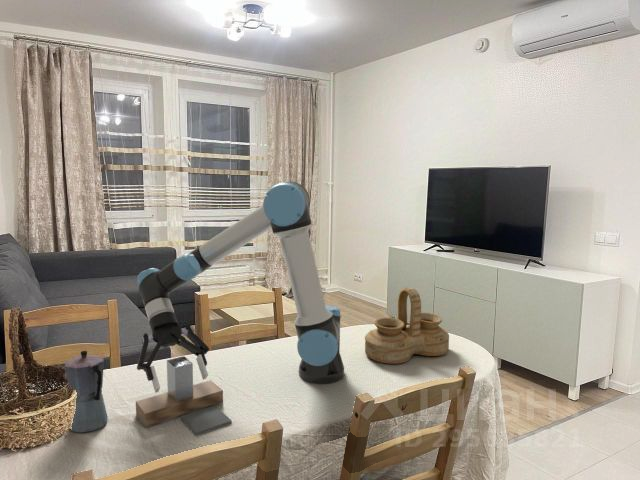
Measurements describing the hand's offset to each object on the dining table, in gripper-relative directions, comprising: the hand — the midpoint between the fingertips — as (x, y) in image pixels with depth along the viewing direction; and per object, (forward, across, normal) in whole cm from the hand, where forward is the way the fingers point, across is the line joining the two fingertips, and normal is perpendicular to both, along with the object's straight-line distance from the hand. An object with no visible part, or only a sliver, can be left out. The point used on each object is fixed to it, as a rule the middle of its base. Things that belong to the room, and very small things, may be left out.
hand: (182, 383), depth 128 cm
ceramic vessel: (+12, -84, -1) cm, 85 cm away
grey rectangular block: (+2, 0, -4) cm, 5 cm away
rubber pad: (+12, -3, 0) cm, 12 cm away
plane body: (+4, 0, -7) cm, 9 cm away
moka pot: (0, +22, -12) cm, 25 cm away
